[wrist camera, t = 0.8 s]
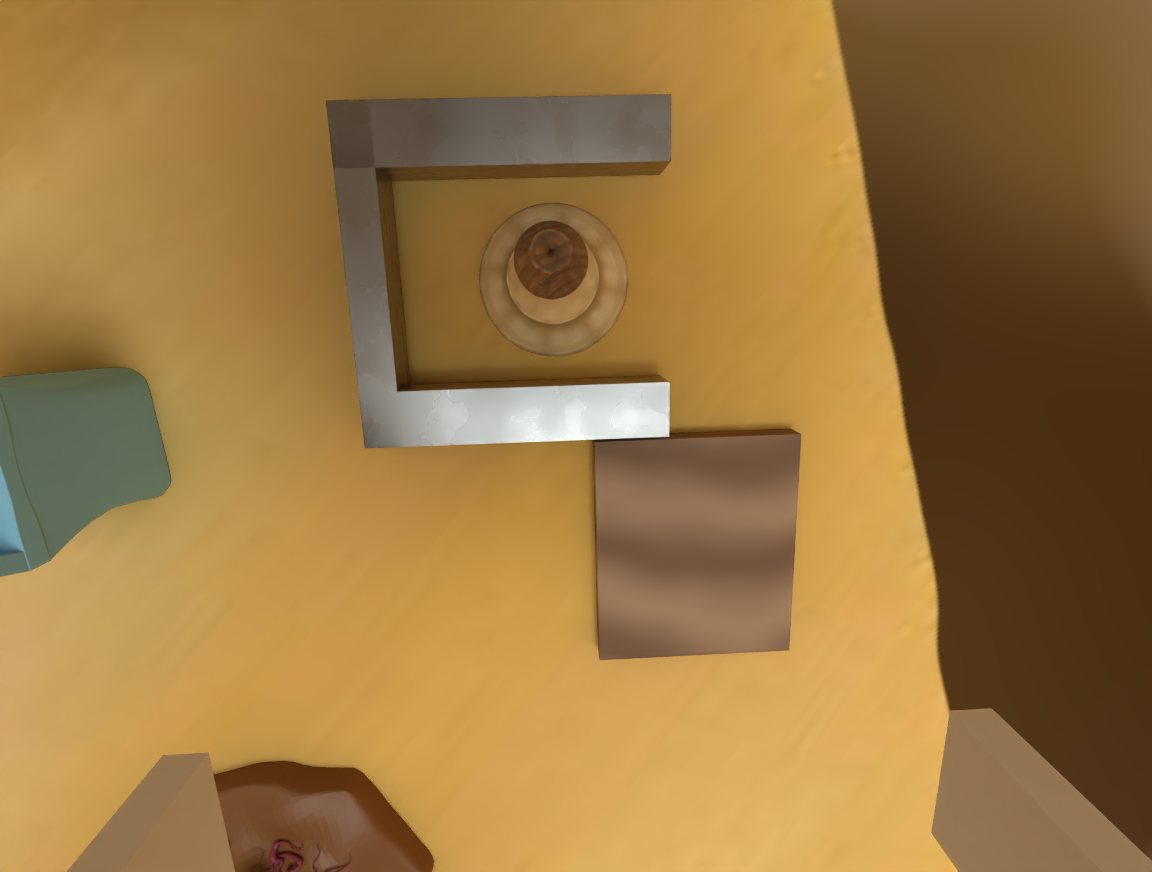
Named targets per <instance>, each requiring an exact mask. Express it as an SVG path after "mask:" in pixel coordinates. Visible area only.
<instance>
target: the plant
mask: <svg viewBox="0 0 1152 872" xmlns="http://www.w3.org/2000/svg"><path fill="white" fill-rule="evenodd" d="M214 780H215V784H216V789H217V793H218V797H219V802H220V806H221V811H222V815H223V820H224V824H225V829H226V833H227V838H228V842H229V847H230V851H231V856H232V860H233V865H234V869H235V872H432V869H433V863H434V860H433V857H432V855H431V853H430V852H429V850H428V849H427V848H426V846H425V845H424V844H423V843H422V842H421V841H420V840H419V839H418V838H417V836H416V835H415V834H414V832H413V831H412V830H411V829H410V828H409V826H408V825H407V824H406V823H405V822H404V821H403V819H402V818H401V817H400V816H399V815H398V814H397V813H396V811H395V810H394V809H393V808H392V807H391V806H390V805H389V803H388V802H387V801H386V799H385V798H384V797H383V795H382V794H381V793H380V791H379V790H378V789H377V788H376V787H375V785H374V784H373V783H372V782H371V781H370V780H369V779H368V778H367V777H366V776H365V775H364V774H363V773H362V772H361V771H359V770H357V769H355V768H326V767H311V766H306V765H302V764H299V763H295V762H288V761H277V762H262V763H256V764H252V765H249V766H246V767H242V768H239V769H235V770H232V771H228V772H224V773H220V774H216V775H214Z"/></svg>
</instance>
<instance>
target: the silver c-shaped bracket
mask: <svg viewBox="0 0 1152 872" xmlns="http://www.w3.org/2000/svg"><path fill="white" fill-rule="evenodd" d="M326 106H327V115H328V123H329V132H330V141H331V150H332V159H333V168H334V177H335V186H336V195H337V204H338V213H339V222H340V231H341V240H342V249H343V257H344V266H345V275H346V284H347V293H348V302H349V311H350V320H351V329H352V338H353V347H354V356H355V365H356V374H357V382H358V391H359V400H360V409H361V418H362V427H363V436H364V445H365V448H385V447H411V446H437V445H463V444H489V443H515V442H541V441H567V440H593V439H619V438H645V437H669V400H670V382H669V381H667V380H666V379H664V378H662V377H661V376H635V377H606V378H578V379H549V380H520V381H491V382H463V383H434V384H410V375H409V364H408V353H407V342H406V331H405V320H404V310H403V299H402V288H401V277H400V266H399V255H398V245H397V234H396V223H395V212H394V201H393V190H392V181H400V180H444V179H487V178H531V177H575V176H619V175H660V174H661V172H662V171H663V170H664V169H665V167H666V166H667V165H668V164H669V163H670V161H671V94H660V95H605V96H549V97H494V98H438V99H383V100H327V101H326Z"/></svg>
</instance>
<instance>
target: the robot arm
mask: <svg viewBox="0 0 1152 872" xmlns="http://www.w3.org/2000/svg"><path fill="white" fill-rule="evenodd" d="M931 833H932V834H933V836H934V837H935V839H936V840H937V842H938V843H939V844H940V846H941V847H942V849H943V850H944V852H945V853H946V854H947V856H948V857H949V859H950V860H951V862H952V863H953V864H954V866H955V867H956V869H957V870H958V872H1152V861H1151V860H1150V859H1149V858H1148V857H1147V856H1146V855H1145V854H1143V853H1142V852H1141V851H1140V850H1139V849H1138V848H1137V847H1136V846H1135V845H1134V844H1133V843H1132V842H1131V841H1130V840H1129V839H1128V838H1127V837H1126V836H1125V835H1124V834H1122V833H1121V832H1120V831H1119V830H1118V829H1117V828H1116V827H1115V826H1114V825H1113V824H1112V823H1111V822H1110V821H1109V820H1108V819H1107V818H1106V817H1105V816H1104V815H1103V814H1101V813H1100V812H1099V811H1098V810H1097V809H1096V808H1095V807H1094V806H1093V805H1092V804H1091V803H1090V802H1089V801H1088V800H1087V799H1086V798H1085V797H1084V796H1083V795H1082V794H1081V793H1080V792H1078V791H1077V790H1076V789H1075V788H1074V787H1073V786H1072V785H1071V784H1070V783H1069V782H1068V781H1067V780H1066V779H1065V778H1064V777H1063V776H1062V775H1061V774H1060V773H1058V772H1057V771H1056V770H1055V769H1054V768H1053V767H1052V766H1051V765H1050V764H1049V763H1048V762H1047V761H1046V760H1045V759H1044V758H1043V757H1042V756H1041V755H1039V753H1037V751H1035V750H1034V749H1033V748H1032V747H1031V746H1030V745H1029V744H1028V743H1027V742H1026V741H1025V740H1024V739H1023V738H1022V737H1021V736H1020V735H1018V733H1017V732H1015V731H1014V730H1013V729H1012V728H1011V727H1010V726H1009V725H1008V724H1007V723H1006V722H1005V721H1004V720H1003V719H1002V718H1001V717H1000V716H999V715H998V714H997V713H996V712H995V711H993V710H992V709H974V710H956V711H950V715H949V721H948V728H947V734H946V741H945V747H944V754H943V760H942V767H941V773H940V780H939V786H938V793H937V800H936V806H935V813H934V819H933V826H932V832H931ZM67 872H235V869H234V865H233V860H232V856H231V851H230V847H229V842H228V838H227V833H226V829H225V824H224V820H223V815H222V811H221V806H220V802H219V797H218V793H217V789H216V784H215V780H214V775H213V771H212V766H211V762H210V757H209V753H195V754H177V755H163V756H162V757H161V759H160V760H159V761H158V762H157V763H156V765H155V766H154V767H153V768H152V769H151V771H150V772H149V773H148V774H147V775H146V777H145V778H144V779H143V780H142V781H141V783H140V784H139V785H138V786H137V788H136V789H135V790H134V791H133V792H132V794H131V795H130V796H129V797H128V798H127V800H126V801H125V802H124V803H123V804H122V806H121V807H120V808H119V809H118V810H117V812H116V813H115V814H114V815H113V816H112V818H111V819H110V820H109V821H108V823H107V824H106V825H105V826H104V827H103V829H102V830H101V831H100V832H99V833H98V835H97V836H96V837H95V838H94V839H93V841H92V842H91V843H90V844H89V845H88V847H87V848H86V849H85V850H84V851H83V853H82V854H81V855H80V856H79V858H78V859H77V860H76V861H75V862H74V864H73V865H72V866H71V867H70V868H69V870H68V871H67Z"/></svg>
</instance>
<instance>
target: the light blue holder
mask: <svg viewBox="0 0 1152 872" xmlns="http://www.w3.org/2000/svg"><path fill="white" fill-rule="evenodd" d="M170 482H171V478H170V471H169V467H168V463H167V459H166V455H165V451H164V446H163V442H162V438H161V434H160V430H159V426H158V422H157V418H156V414H155V410H154V406H153V402H152V398H151V394H150V390H149V387H148V384H147V382H146V380H145V379H144V377H143V376H141V375H140V374H138V373H137V372H135V371H133V370H131V369H128V368H99V369H87V370H76V371H64V372H53V373H42V374H30V375H19V376H7V377H0V577H1V576H6V575H11V574H16V573H21V572H26V571H31V570H33V569H35V568H37V567H39V566H41V565H43V564H45V563H47V562H49V561H51V559H52V558H53V557H54V556H55V555H56V554H57V553H58V552H59V551H60V550H61V549H62V548H63V547H64V546H65V545H66V544H67V543H68V542H69V541H70V540H71V539H72V538H73V537H74V536H75V535H76V534H77V533H78V532H79V531H81V530H82V529H83V528H84V527H86V526H87V525H88V524H89V523H90V522H92V521H93V520H95V519H96V518H98V517H99V516H101V515H102V514H104V513H105V512H107V511H109V510H111V509H113V508H115V507H119V506H122V505H125V504H129V503H133V502H137V501H142V500H147V499H152V498H156V497H159V496H161V495H162V494H163V493H164V492H165V491H166V490H167V489H168V487H169V486H170Z"/></svg>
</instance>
